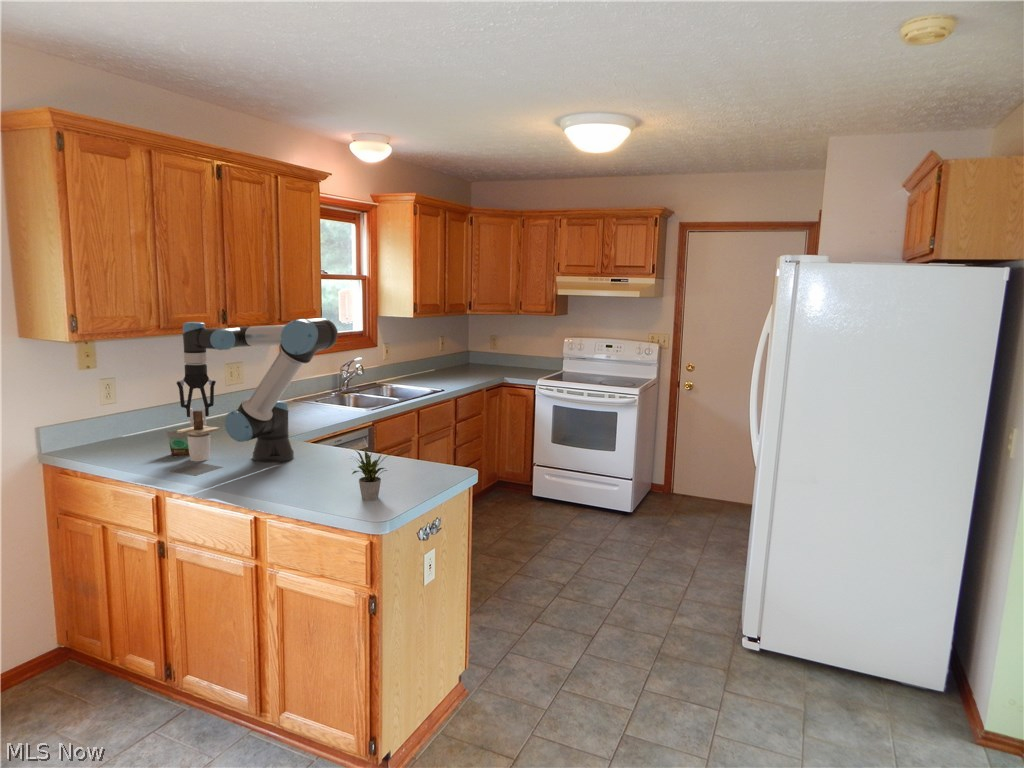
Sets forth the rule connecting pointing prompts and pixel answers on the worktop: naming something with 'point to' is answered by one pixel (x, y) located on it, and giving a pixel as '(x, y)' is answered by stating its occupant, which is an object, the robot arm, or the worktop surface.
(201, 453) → the white cup
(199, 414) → the lid
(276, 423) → the robot arm
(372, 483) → the house plant
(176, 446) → the food container
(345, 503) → the worktop surface
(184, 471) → the mat
